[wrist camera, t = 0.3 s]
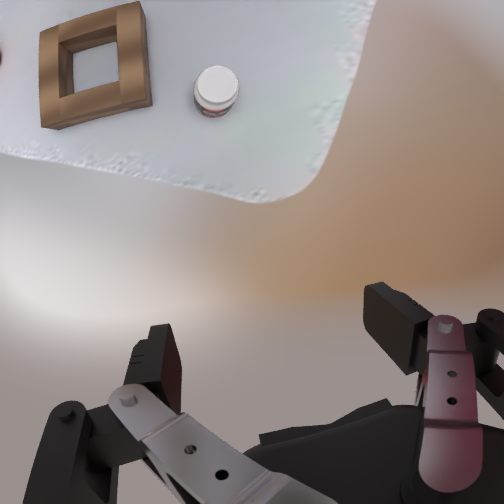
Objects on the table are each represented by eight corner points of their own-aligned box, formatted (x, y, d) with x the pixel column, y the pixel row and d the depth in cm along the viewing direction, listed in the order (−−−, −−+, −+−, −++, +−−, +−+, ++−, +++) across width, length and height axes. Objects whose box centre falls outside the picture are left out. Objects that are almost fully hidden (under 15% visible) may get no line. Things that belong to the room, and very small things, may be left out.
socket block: (54, 43, 29) (39, 32, 24) (145, 17, 31) (139, 0, 26) (58, 129, 33) (41, 127, 28) (152, 105, 35) (145, 98, 30)
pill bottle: (202, 123, 36) (203, 114, 28) (188, 90, 35) (185, 72, 27) (238, 109, 36) (249, 97, 28) (224, 76, 35) (231, 56, 27)
